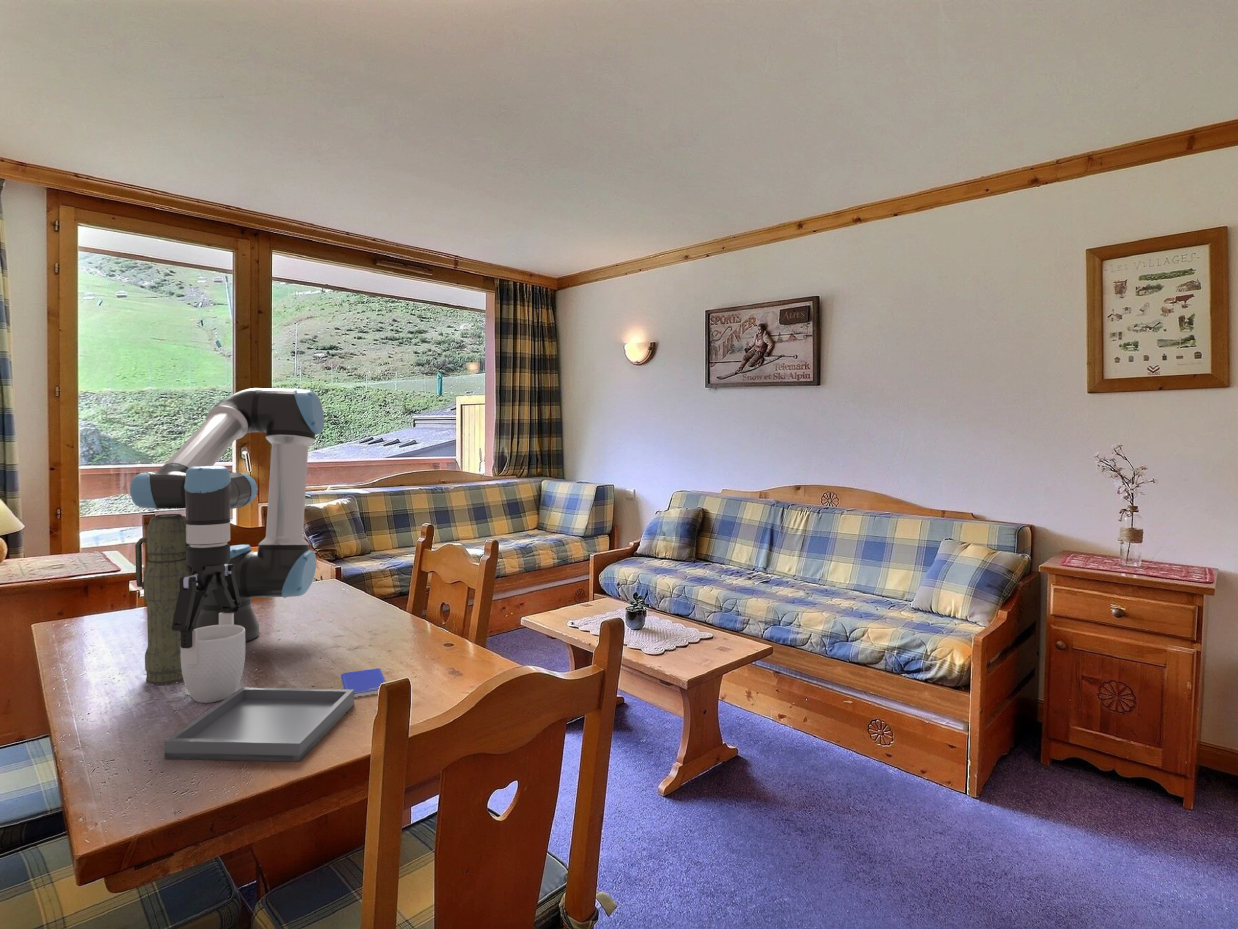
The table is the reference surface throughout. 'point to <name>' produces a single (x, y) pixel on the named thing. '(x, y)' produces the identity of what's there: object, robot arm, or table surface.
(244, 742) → the tray
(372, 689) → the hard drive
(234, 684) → the mug
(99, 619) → the table surface
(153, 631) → the thermos
